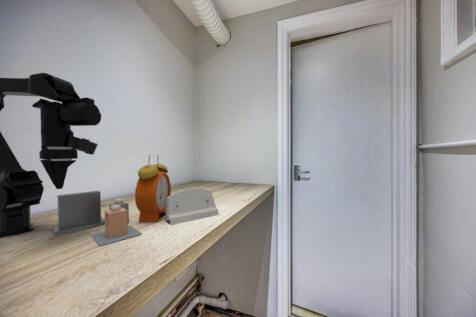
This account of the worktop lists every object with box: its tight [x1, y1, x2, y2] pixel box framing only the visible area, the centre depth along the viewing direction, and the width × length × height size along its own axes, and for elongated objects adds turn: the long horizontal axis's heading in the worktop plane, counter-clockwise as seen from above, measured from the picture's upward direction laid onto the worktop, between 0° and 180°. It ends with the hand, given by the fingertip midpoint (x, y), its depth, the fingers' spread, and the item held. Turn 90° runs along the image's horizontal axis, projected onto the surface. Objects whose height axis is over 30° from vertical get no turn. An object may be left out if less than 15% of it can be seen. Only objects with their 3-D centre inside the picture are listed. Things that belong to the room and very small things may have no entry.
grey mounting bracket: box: [164, 188, 220, 226], centre depth 65 cm, size 17×5×10 cm, turn 126°
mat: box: [90, 224, 143, 247], centre depth 50 cm, size 9×9×1 cm
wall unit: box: [52, 190, 105, 237], centre depth 55 cm, size 5×11×10 cm, turn 136°
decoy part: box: [108, 197, 130, 224], centre depth 59 cm, size 4×4×7 cm
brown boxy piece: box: [104, 205, 129, 239], centre depth 50 cm, size 4×4×7 cm
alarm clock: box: [134, 154, 172, 223], centre depth 65 cm, size 13×6×20 cm, turn 178°
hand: (57, 186), depth 52 cm, fingers open, 9 cm apart
